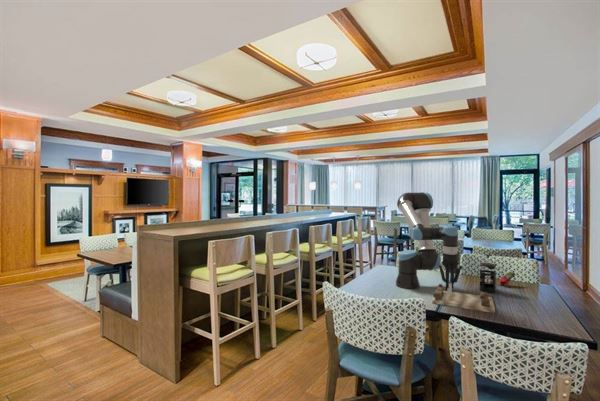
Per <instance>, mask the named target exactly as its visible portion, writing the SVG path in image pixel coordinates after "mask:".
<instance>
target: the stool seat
mask: <svg viewBox="0 0 600 401" xmlns="http://www.w3.org/2000/svg"><path fill="white" fill-rule="evenodd" d="M435 292H436V289H435V291H433V296H432V301H431V302H432V304H434V303H436V304H435V305H441V306H448V307H455V308H460V309H467V310H473V311H477V312H478V311H479V312H480V311H481V312H486V313H493V314H495V313H496V312H495V311H496V309H495V304H494V299H493V297H491V296H489V294H490V293H487V292H482V291H480V295H477V294H471V293H463V292H455V291H452V295H449V294H448V293H447V290H443V294H442V297H441V300H440V299H435Z"/></svg>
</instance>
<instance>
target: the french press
mask: <svg viewBox="0 0 600 401" xmlns="http://www.w3.org/2000/svg"><path fill="white" fill-rule="evenodd" d="M484 257H486V258H487V259H489V257H493V255H492V254H487V253H486V254H484ZM479 267H480V268H482V267H486V268H487V269H482V270H479V285H478V287H479V289H478V290H479V291H480V292H486V293H488V294H495V293H496V292H497V286H496V284H497V283H496V281H497V280H496V277H497V272H496V271H494V270H496V267H497V264H495V263H491V262H480V263H479ZM486 277H487V278H486ZM489 277H490V278H489Z"/></svg>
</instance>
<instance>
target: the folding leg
mask: <svg viewBox="0 0 600 401" xmlns="http://www.w3.org/2000/svg"><path fill="white" fill-rule="evenodd" d="M435 290H436V292H435V291H434V292H435V299H440V300H441V297H442V294H443V291H444V285H443V284H442V283H439V284H438V285H437V287H436V289H435Z"/></svg>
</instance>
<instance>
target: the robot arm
mask: <svg viewBox="0 0 600 401" xmlns="http://www.w3.org/2000/svg"><path fill="white" fill-rule="evenodd" d="M396 204H397V205H396V206H397V208H398V210H399V211H400V212H401V213H402V214H403V216H404V219H405V220H406V221H407V223H408V225H409V227H410V230H409V235H410V238H411V239H412V240H413V241H418V245H419V246H418V249H417V250H415V249H406V250H402V251H400V252H399V253H398V258H397V260H398V274H397V277H396V279H395V285H396V286H397V287H399V288H402V289H408V290H411V289H412V290H413V289H414V290H415V289H418V288H420V281H419V277H418V271H436V270H438V269H439V271H440V276H441V280H442V282H444V283H445V288H446V289H447V290H446V291H447V293H448V294H449V295H452V292H453V290H452V289H454V284H455V283H458V281H459V280H458V279H459V277H460V274H461V270H462V268H463V266H462V265H461V264H459V262H458V252H459V250H458V249H459V248H458V243H459V241H458V240H459V230H458V227H457V226H455V225H454V226H453V225H445V226H436V227H434V226H433V227H431V221H430V212H431V211H432V210H431V209H432V208H433V207H434V199H433V197H432V195H431V194H430V193H429V192H404V193H403V194H401V195H400V196H399V197H398V198H397V202H396ZM433 241H442V256H441V254H440V253H439V252H438V251H437V248H436V247H434V244H433ZM444 269H445V271H444ZM455 269H456V271H455Z"/></svg>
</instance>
